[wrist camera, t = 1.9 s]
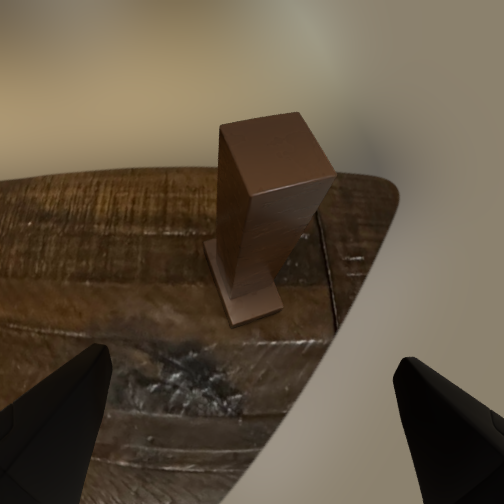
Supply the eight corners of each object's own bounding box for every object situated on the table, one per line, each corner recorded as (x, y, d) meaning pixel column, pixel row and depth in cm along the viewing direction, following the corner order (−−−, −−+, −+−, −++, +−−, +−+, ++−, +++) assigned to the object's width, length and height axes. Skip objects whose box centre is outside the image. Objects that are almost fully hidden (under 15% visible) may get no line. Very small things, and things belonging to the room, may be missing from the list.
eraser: (279, 311, 22) (374, 218, 8) (230, 329, 21) (257, 254, 8) (249, 237, 24) (289, 81, 10) (203, 251, 23) (193, 96, 10)
